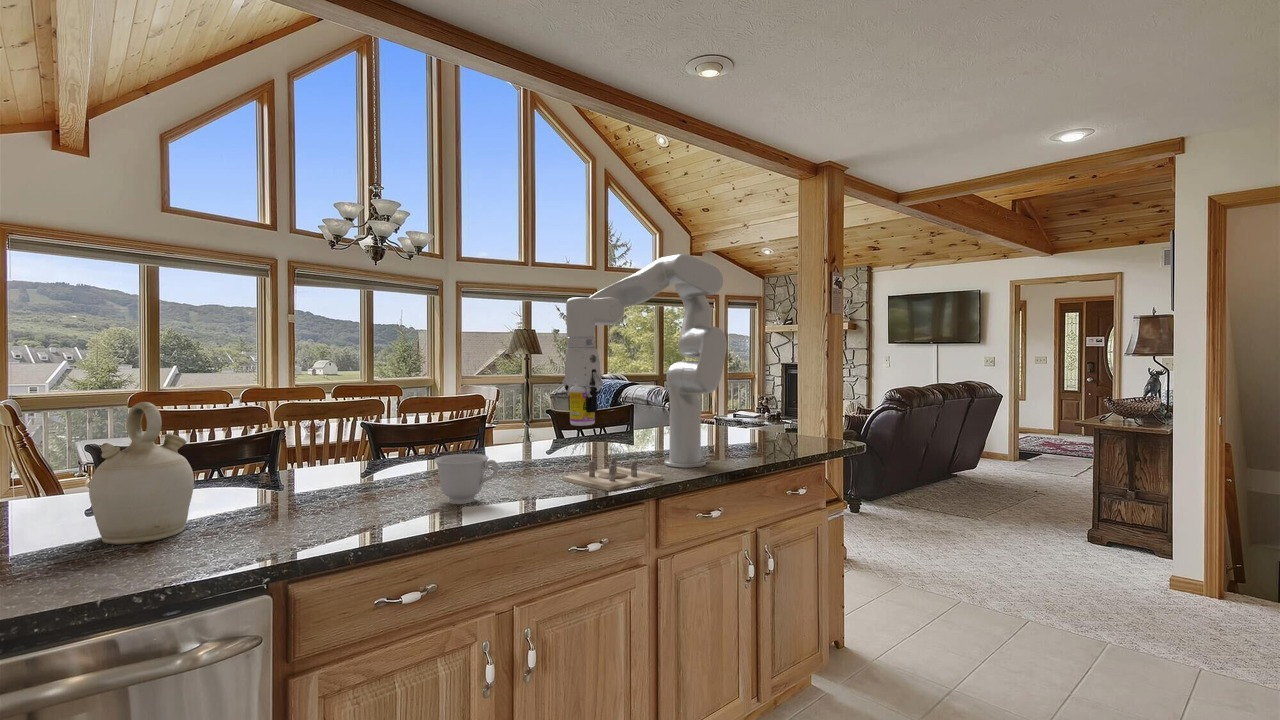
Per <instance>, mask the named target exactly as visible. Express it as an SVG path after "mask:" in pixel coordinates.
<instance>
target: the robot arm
mask: <svg viewBox="0 0 1280 720" xmlns="http://www.w3.org/2000/svg"><path fill="white" fill-rule="evenodd" d="M672 285H674V288H675V291H676V293H677V294H678V296H679V298H680V299H681V301H682V303H683V308H684V313H683V320H682V324H681V329H680V334H679V338H678V342H677V343H678V346H677V347H678V348H677V349H678V351H679V353H680V354H681V355H682V356H684V357H685V358H692V359H693V358H694V359H697V358H698V361H697V360H678V361H676V362H674V363H672V364H671V365H670V366H669V367H668V369H667V371H666V385H667V391H668V398H669V399H668V401H669V457H668V458H666V459H664V461H663V462H664V465H666V466H668V467H671V468H687V469H690V468H700V467H704V466H705V465H706V464H707V462H706V460H705V459H703V457H705V456H708V455H709V454H710V450H709V449H708V448H704V449H703V448H702V447H701V446H702V445H701V443H702V442H701V440H702V439H701V437H702V434H701V433H702V431H701V430H702V428H701V427H702V425H701V424H702V421H701V419H702V418H701V417H702V416H701V415H702V406H701V402H700V398H699V395H698V394H702V395H703V394H711V393H713V392H714V391H716V390H717V389H718V387H719V384H720V383H721V378H722V374H723V370H724V365H725V360H726V355H727V349H728V342H727V336H726V334H725V332H724V330H722V329H721V328H719V327H717V326H712V325H711V323H712V316H713V315H712V308H711V305H710V303H709V300H708V299H707V297H706V296H712V295H714V294H717V293H718V292H720V291H721V289H722V288H723V285H724V276H723V274H722V272H721V271H720V269H718V267H716V266H715V265H713V264H711V263H708V262H706V261H704V260H701V259H699V258H697V257H696V256H695V257H694V256H692V255H689V254H685V253H676V254H672V255H668V256H667V255H666V256H661V257H659V258H657V259H656V260H654V261H652V262H651V263H649V264H647V265H646V266H644V267H643V268H640V269H639V270H638V271H636V272H634V273H633V274H631V275H629V276H628V277H625V278H623V279H621V280H618V281H617V282H615V283H613V284H610V285H609V286H607V287H604V288H603V289H600V290H599V291H597V292H595V293H594V294H592V295H590V296H589V297H585V296H583V297H582V296H581V297H576V296H575V297H571V298H568V299H567V301H566V303H565V311H566V316H565V317H566V319H565V320H566V347H567V348H566V354H565V362H564V366H565V367H564V375H565V376H564V378H563V379H562V380H561V382H562V384H563V386H564V390H565V391H566V395H567V397H568V411H570V388H571V387H572V386H573V385H574V384H575V383H576V384H577V385H578V386H581V387H585V389H586V393H587V396H588V397H586V412H587V413H590V412H595V413H596V412H597V411H598V402H597V401H598V400H597V399H598V397H599V393H600V391H601V388H602V387H603V385H604V382H603V380H602V377H601V371H602V370H601V363H600V357H599V352H598V349H597V348H596V344H597V343H596V326H612V325H615V324H618V323H619V322H620V321H621V320H622V319H623V317H624V315H625V308H628V307H632V306H636V305H640V304H642V303H645V302H647V301H649V300H651V299H652V298H653V297H655V296H657V295H658V294H660V293H661V292H662V291H664V290H665V289H667V288H668V287H670V286H672ZM574 377H576V379H577V382H574V381H573V380H574ZM590 388H592V390H590Z"/></svg>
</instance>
